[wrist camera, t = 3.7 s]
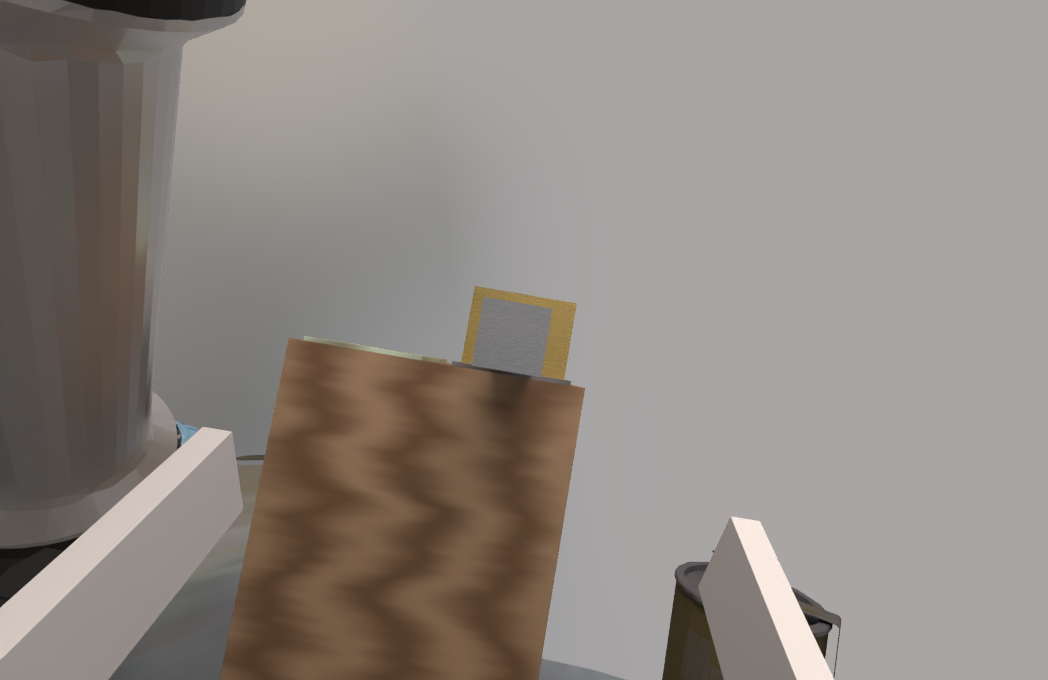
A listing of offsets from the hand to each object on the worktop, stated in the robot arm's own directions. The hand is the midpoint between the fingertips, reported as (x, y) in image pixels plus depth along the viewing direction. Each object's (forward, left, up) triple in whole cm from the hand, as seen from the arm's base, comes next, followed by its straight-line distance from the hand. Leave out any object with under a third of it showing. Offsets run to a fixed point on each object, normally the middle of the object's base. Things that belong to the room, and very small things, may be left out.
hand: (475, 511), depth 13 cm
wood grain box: (-5, +25, -27) cm, 37 cm away
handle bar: (0, +18, +4) cm, 18 cm away
